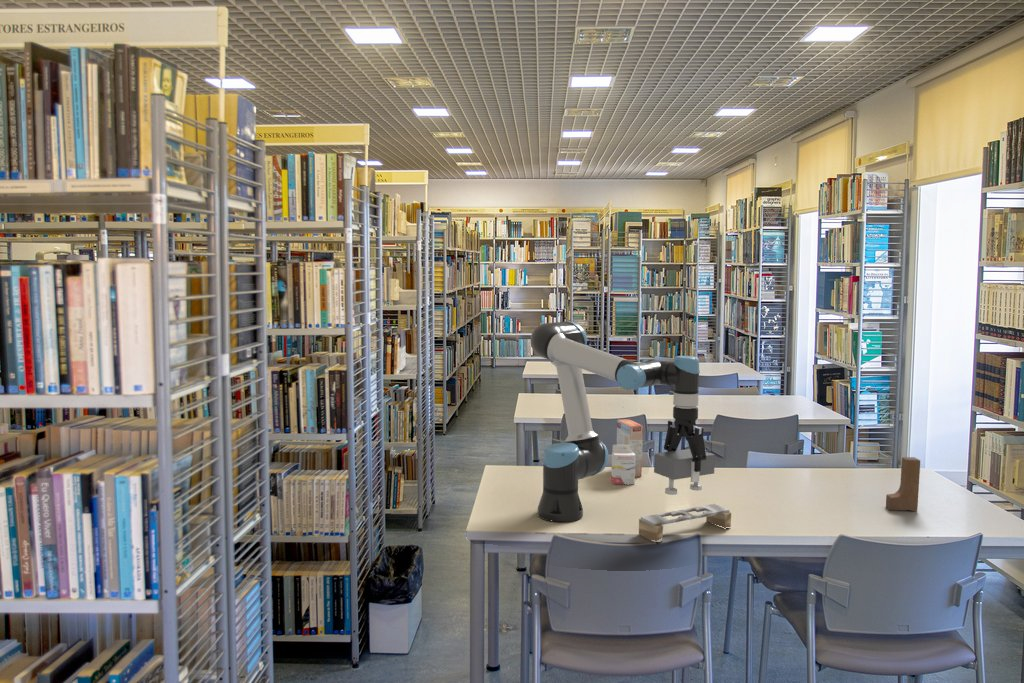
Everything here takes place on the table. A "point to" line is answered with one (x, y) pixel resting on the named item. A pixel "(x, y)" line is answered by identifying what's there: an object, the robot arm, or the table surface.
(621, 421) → the cracker box
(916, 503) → the wooden block
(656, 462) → the grey box orange tab
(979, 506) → the table surface
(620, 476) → the ink cartridge box
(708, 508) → the keyhole board
